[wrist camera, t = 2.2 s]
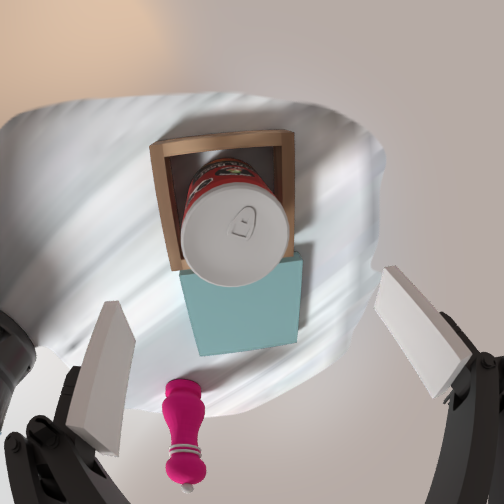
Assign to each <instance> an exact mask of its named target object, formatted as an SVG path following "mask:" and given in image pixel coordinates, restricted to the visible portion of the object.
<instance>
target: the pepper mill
mask: <svg viewBox="0 0 504 504" xmlns="http://www.w3.org/2000/svg"><path fill="white" fill-rule="evenodd" d="M165 394H166V397H167V398H166V399H165V400H164V401H163V404H162V412H163V415H164V418H165V421H166V423H167V425H168V427H169V429H170V433H171V440H172V442H171V443H172V444H171V446H170V447H169V456H170V457H171V458H170V459H169V460H168V461H167V463H166V472H167V475H168V476H169V478H170V479H171V480H173V481H174V482H177V483H180V484H182V486H181V489H182V491H183V492H185V493H191V492H192V491H193V489H194V488H193V486H192V484H197V483H199V482H201V481H202V480H203V479H204V478H205V475H206V465H205V464H204V462H203V461H202V460H201V459H200V458H201V456H202V455H201V449H200V448H199V447H198V443H197V436H198V431H199V428H200V426H201V423H202V421H203V419H204V415H205V406H204V403H203V402H202V401H201V400H200V399H201V388H200V386H199V385H198V384H197V383H195V382H194V381H191V380H186V379H176V380H173V381H170V382H169V383H168V384H167V385H166V393H165Z"/></svg>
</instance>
